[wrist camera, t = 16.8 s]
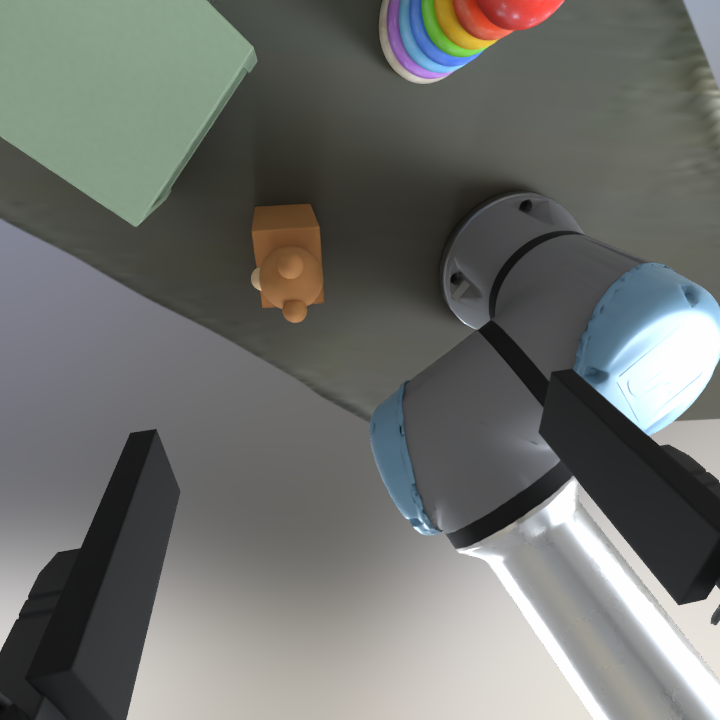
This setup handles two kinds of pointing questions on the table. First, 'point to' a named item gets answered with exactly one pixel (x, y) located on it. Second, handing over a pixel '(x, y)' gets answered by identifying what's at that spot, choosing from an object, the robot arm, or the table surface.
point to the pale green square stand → (116, 90)
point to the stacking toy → (450, 31)
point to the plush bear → (287, 258)
